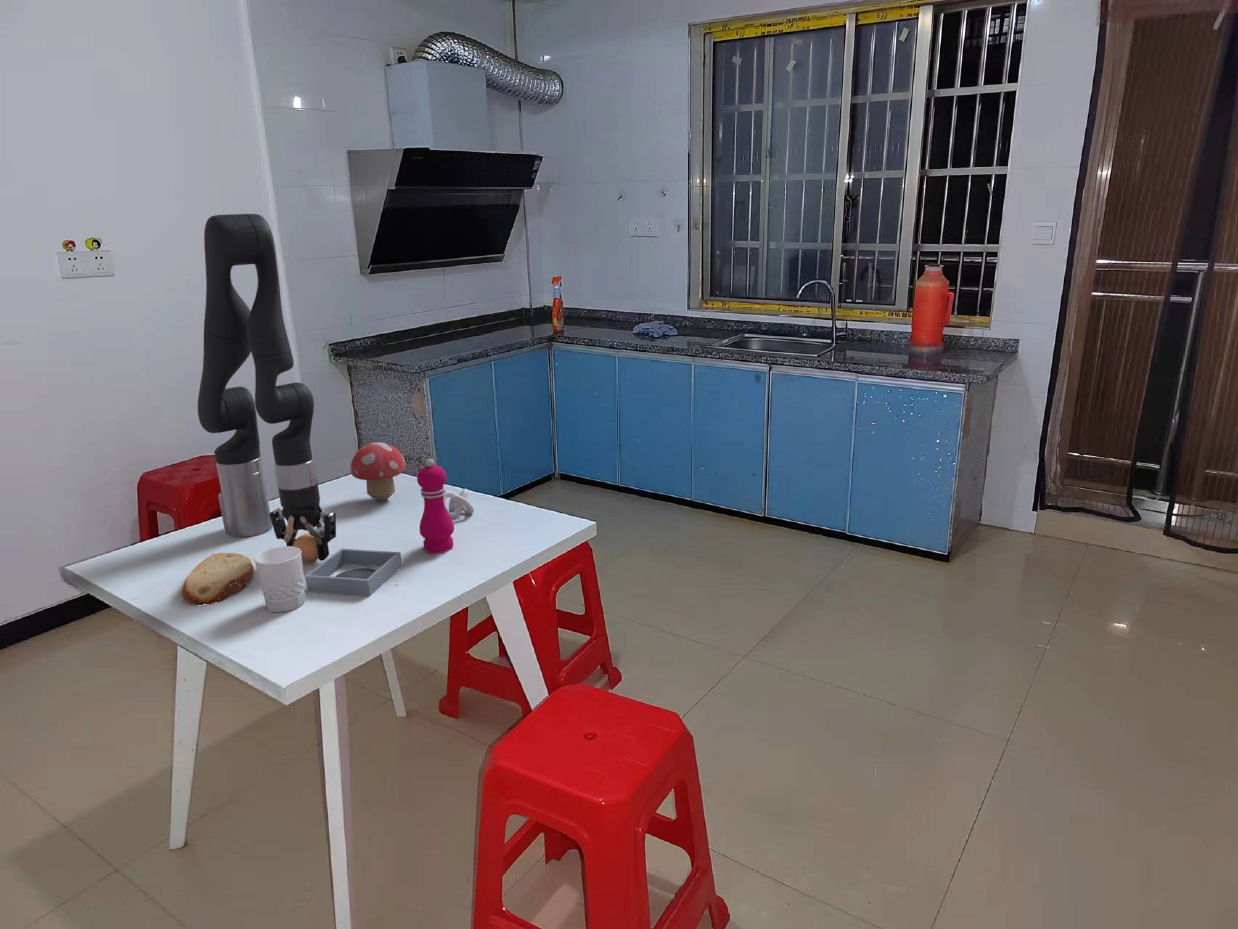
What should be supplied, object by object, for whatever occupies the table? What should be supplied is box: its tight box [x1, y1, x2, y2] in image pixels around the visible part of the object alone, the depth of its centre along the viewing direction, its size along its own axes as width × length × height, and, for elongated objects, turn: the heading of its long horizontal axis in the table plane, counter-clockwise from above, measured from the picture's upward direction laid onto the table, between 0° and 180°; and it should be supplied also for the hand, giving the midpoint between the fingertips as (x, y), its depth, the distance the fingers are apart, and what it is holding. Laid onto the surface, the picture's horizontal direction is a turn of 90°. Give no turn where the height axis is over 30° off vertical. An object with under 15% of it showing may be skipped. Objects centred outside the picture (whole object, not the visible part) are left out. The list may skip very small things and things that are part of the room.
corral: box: [304, 547, 403, 597], centre depth 156 cm, size 13×13×3 cm
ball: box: [293, 533, 319, 564], centre depth 164 cm, size 6×6×6 cm
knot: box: [444, 488, 474, 520], centre depth 188 cm, size 8×8×6 cm
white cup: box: [254, 545, 306, 613], centre depth 145 cm, size 8×8×10 cm
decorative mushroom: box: [350, 442, 407, 502], centre depth 197 cm, size 13×13×15 cm
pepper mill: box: [416, 458, 455, 554], centre depth 167 cm, size 7×7×20 cm
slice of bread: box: [181, 552, 255, 606], centre depth 156 cm, size 18×18×4 cm
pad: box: [334, 567, 378, 579], centre depth 156 cm, size 9×9×1 cm
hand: (309, 557), depth 164 cm, fingers closed on ball, 6 cm apart
